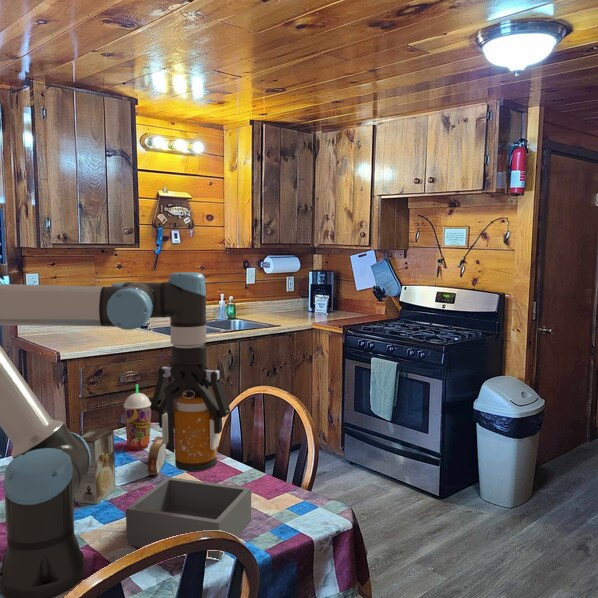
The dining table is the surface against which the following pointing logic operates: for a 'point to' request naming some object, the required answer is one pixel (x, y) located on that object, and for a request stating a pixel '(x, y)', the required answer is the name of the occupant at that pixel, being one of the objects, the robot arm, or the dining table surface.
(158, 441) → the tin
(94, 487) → the coffee box
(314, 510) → the dining table surface
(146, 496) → the bin
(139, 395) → the smoothie
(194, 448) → the canister
